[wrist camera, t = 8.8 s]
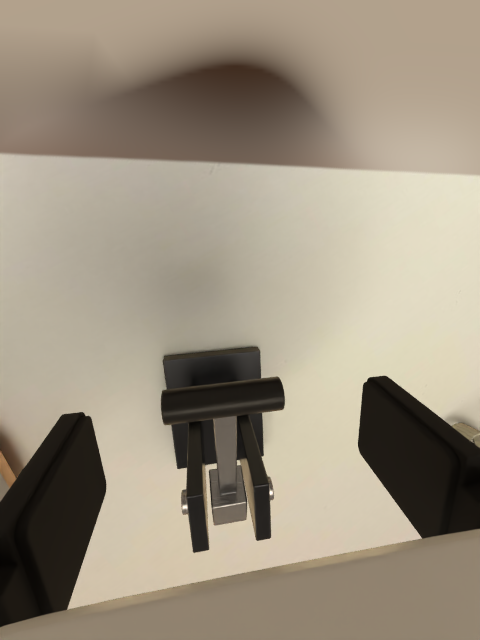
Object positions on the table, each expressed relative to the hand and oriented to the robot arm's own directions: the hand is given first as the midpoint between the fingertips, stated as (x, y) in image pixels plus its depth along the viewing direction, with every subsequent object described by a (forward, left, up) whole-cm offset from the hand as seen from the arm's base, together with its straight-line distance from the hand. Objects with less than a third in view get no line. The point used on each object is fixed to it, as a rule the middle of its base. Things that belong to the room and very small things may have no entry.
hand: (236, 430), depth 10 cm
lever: (+4, -4, -7) cm, 9 cm away
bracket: (+8, -7, -18) cm, 21 cm away
